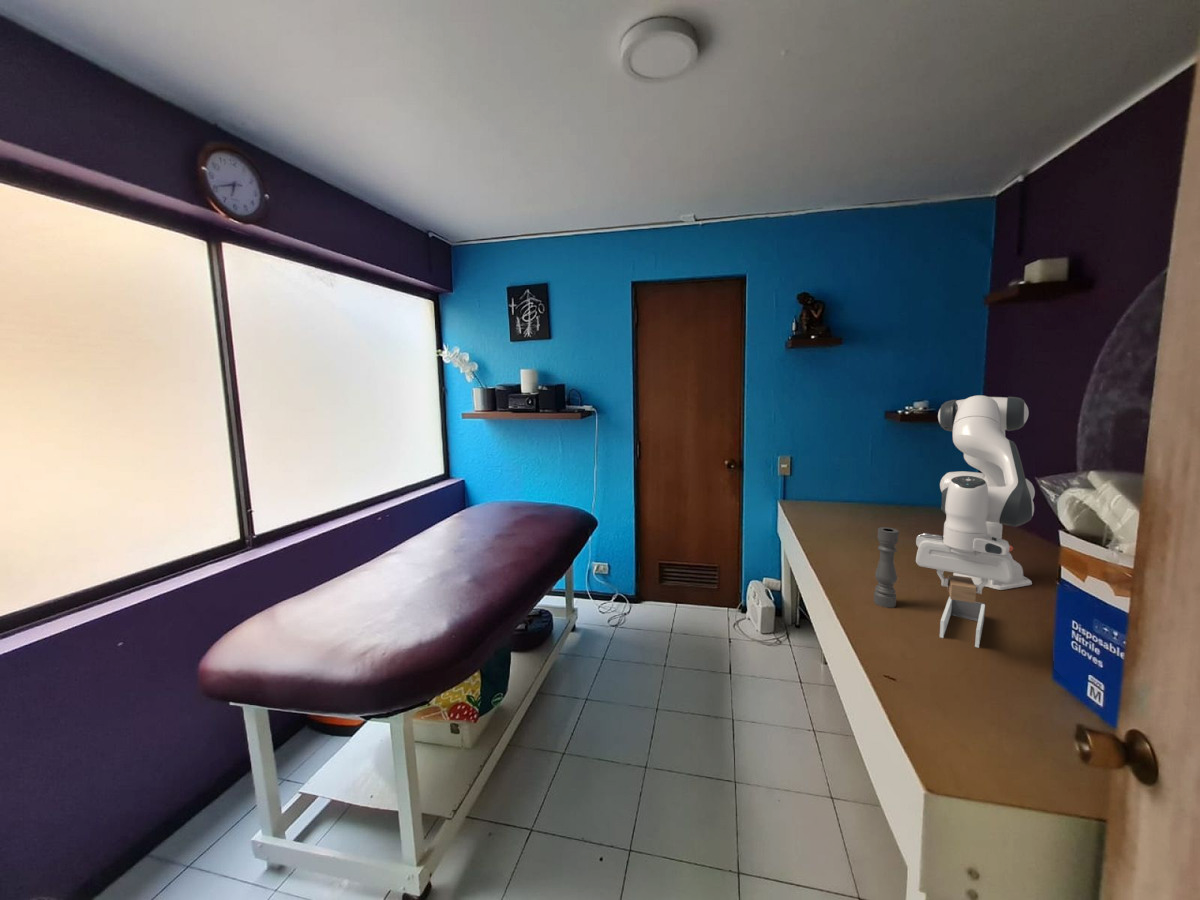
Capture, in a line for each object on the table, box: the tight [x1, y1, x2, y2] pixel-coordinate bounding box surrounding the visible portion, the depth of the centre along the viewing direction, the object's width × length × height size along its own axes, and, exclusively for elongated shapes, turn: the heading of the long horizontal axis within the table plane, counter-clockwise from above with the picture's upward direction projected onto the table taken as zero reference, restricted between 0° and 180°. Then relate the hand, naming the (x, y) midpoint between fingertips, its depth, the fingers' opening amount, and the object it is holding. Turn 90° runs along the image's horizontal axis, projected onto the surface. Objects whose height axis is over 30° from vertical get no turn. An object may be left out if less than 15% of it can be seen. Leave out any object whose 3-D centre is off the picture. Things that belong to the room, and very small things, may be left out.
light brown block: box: [946, 574, 977, 603], centre depth 121 cm, size 7×5×4 cm
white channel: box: [939, 595, 986, 648], centre depth 134 cm, size 20×9×5 cm, turn 137°
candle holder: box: [873, 526, 900, 609], centre depth 149 cm, size 6×6×25 cm
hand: (961, 589), depth 121 cm, fingers closed on light brown block, 5 cm apart
